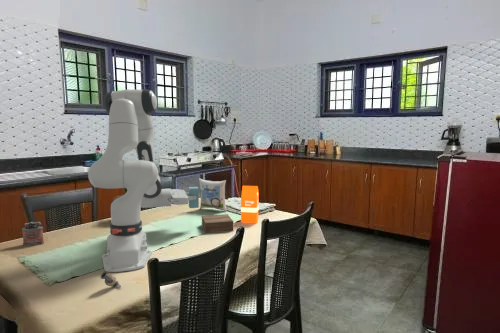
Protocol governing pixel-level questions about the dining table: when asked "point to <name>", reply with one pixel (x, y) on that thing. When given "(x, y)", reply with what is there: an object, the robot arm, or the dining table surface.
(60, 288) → the dining table surface
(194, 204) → the teal block
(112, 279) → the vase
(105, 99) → the robot arm
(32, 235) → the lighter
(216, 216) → the walnut base
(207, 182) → the pouch
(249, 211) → the orange juice
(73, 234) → the dining table surface
